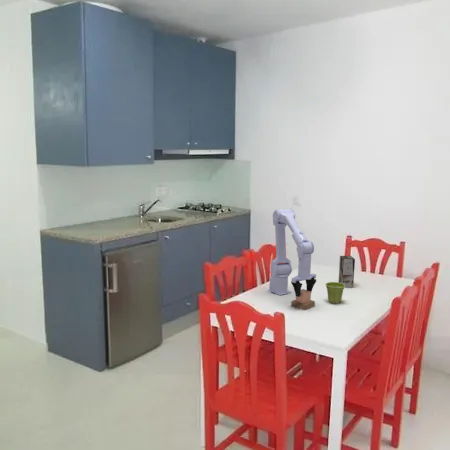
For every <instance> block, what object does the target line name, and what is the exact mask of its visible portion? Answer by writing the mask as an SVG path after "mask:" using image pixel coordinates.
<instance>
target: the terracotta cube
mask: <svg viewBox="0 0 450 450" xmlns="http://www.w3.org/2000/svg"><path fill="white" fill-rule="evenodd" d="M311 296H312V292H310V291H308V290H307V289H305V288H303V289H302V288H301V291H300V297H297V296H296V295H295V299H294V300H295V301H297V302H300V303H302V304H303V303H308V302H310V301H311V300H312V298H311Z"/></svg>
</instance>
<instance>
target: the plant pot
mask: <svg viewBox="0 0 450 450" xmlns="http://www.w3.org/2000/svg"><path fill="white" fill-rule="evenodd" d="M325 286H326V291H327V300H328V303H333V304H340V303H341V302H342V298H343V293H344V290H345V288H344V287H345V285H344V284H342V283H339V281H338V282H337V281H329V282H326V283H325Z"/></svg>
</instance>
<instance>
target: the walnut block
mask: <svg viewBox="0 0 450 450" xmlns="http://www.w3.org/2000/svg"><path fill="white" fill-rule="evenodd" d="M295 300H296V299H294V300H291V302H290V307H293V308H297V309H300V310H302V311H307V310H309V309H311V308H314V307H315V305H316V301H315V300H312V299H311V301H310V302H308V303H303V304H302V303H300V302H297V301H295Z"/></svg>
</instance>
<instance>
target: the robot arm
mask: <svg viewBox="0 0 450 450" xmlns="http://www.w3.org/2000/svg"><path fill="white" fill-rule="evenodd" d="M272 225H273V226H274V228H275V229H274V232H275V253H276V254H275V255H276V256H275V258H274V259H272V261H271V266H270V273H271V275H270V277H269V289H268V291H267V292H271V293H273V294H276V295H278V296H283V295H287V294H291V293H292V291H290V290H289V289H288V287H289V286H288V283H289V277H290V275H291V274H292V271H293V267H292V263H291V262H292V261H291V260H290V259H289V258H287V246H286V245H287V244H286V243H287V242H286V227H288V228H289V230H290V231H291V233H292V234H291V237H292V239H293V241H294V242H295V244H296V252H297V253H296V254H297V258H298V265H297V266H298V269H297V275H296V276H294V277H292V278H291V281H290V284H291V286H292V287H293V290H294V294H295V297H296V296H297V297H300V291H301V289H302V286H303V283H301V282H302V281H305V284H306V290H308V291H310V292H311V293H312V292H313V290H314V289H313V288H314V286H315V284H316V283H317V279H316V278H317V274H316V273H311V267H312V254H313V253H314V251H315V246H314V243H313V242H312V241H310V240H308V238H307V236H306V234H305V232H304V231H303V230H302V229H300V228H299V226H298V224H297V221H296V212H295V210H294V209H293V208H286V209H285V208H284V209H275V210H274V211H273V213H272Z"/></svg>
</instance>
